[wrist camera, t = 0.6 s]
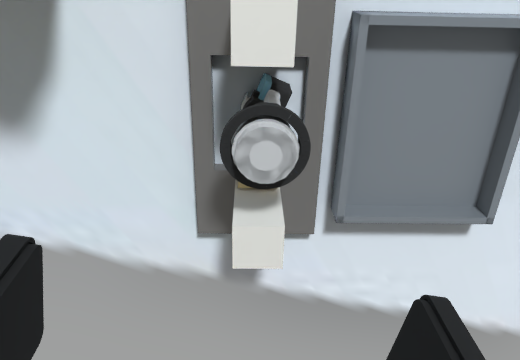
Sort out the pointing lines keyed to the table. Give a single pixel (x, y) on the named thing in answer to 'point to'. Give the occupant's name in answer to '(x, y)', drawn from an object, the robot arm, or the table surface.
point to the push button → (265, 138)
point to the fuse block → (206, 171)
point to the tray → (427, 117)
